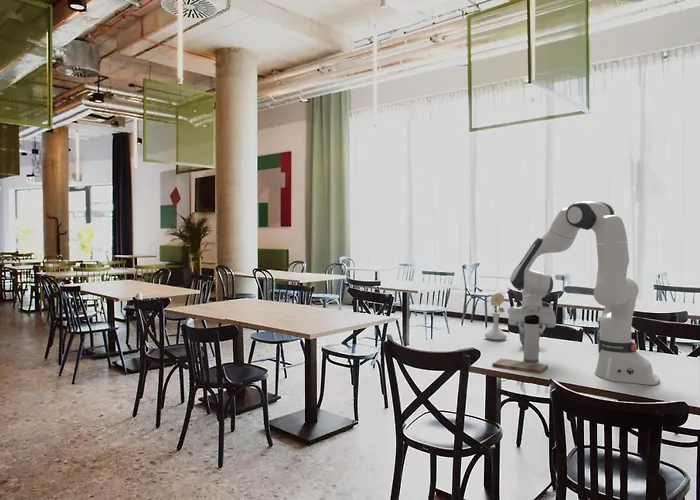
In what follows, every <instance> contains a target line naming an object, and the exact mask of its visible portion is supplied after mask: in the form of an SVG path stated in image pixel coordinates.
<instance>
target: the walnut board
mask: <svg viewBox="0 0 700 500" xmlns="http://www.w3.org/2000/svg"><path fill="white" fill-rule="evenodd" d="M491 365H492V367H494V368H501V369H508V370H514V371H521V372H528V373H533V372H535V373H534V374H540V373H541V374H543V373H544V372H545V371H546V370H547V369H548V367H549V364H546V363H545V364H544V363H538V362H527V361H524V360H523V361H521V360H515V359H507V358H502V357H501V358H499V359H497V360H496V361H495V362H493V363H492V364H491Z"/></svg>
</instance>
